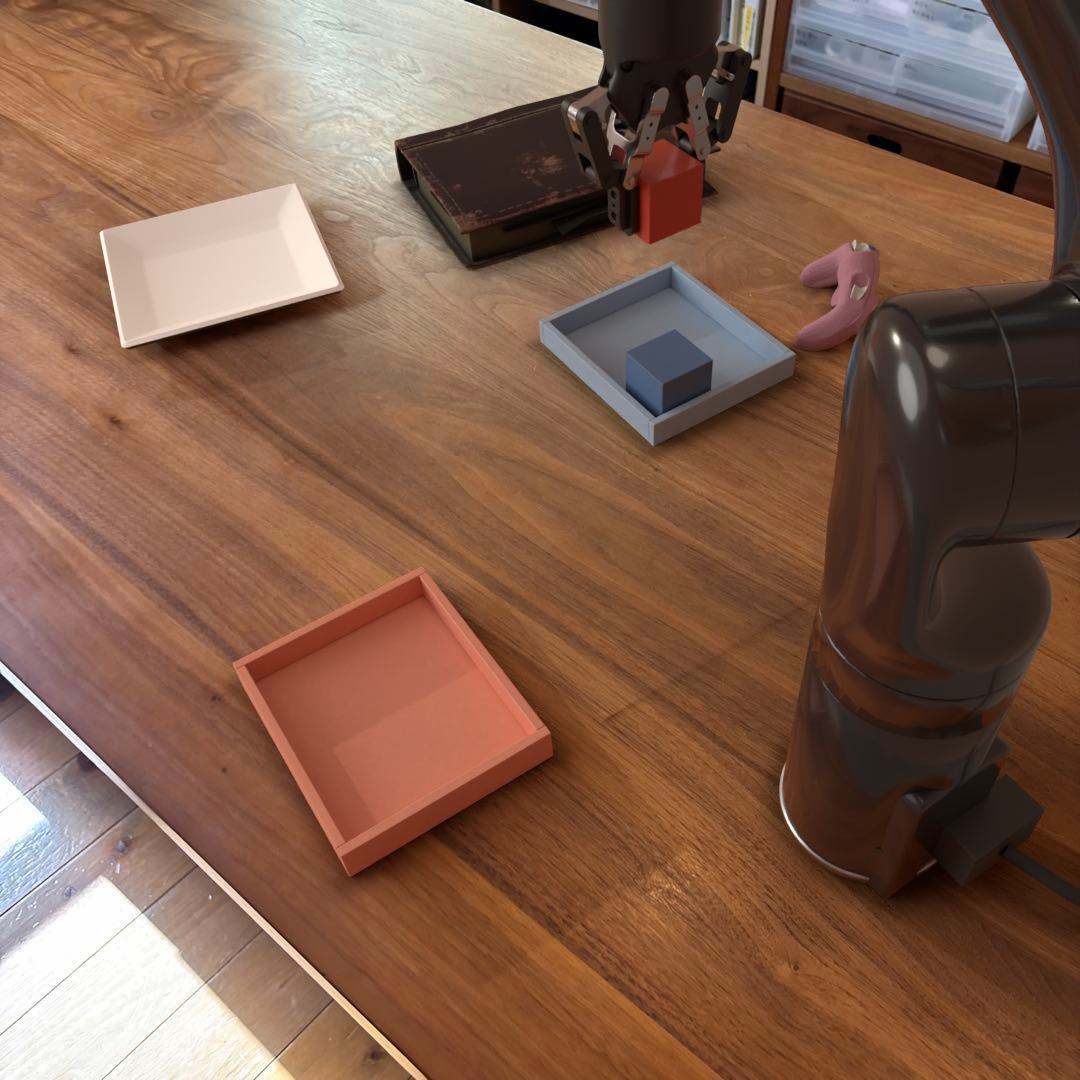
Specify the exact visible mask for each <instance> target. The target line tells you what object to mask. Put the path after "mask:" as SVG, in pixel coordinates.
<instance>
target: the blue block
mask: <svg viewBox="0 0 1080 1080" xmlns="http://www.w3.org/2000/svg"><path fill="white" fill-rule="evenodd" d="M712 368H713V359H711V358H710V357H709V356H708V355H706V354H705V353H704V352H703V351H701V350H700V349H699V348H698V347H697V346H695V345H694V344H693V343H692V342H690V341H689V340H688V339H687V338H685V337H684V336H683V335H682V334H681V333H679V332H678V331H677V330H676V329H674V330H672V331H670V332H667V333H665V334H663V335H661V336H659V337H657V338H655V339H653V340H650V341H648V342H646V343H644V344H642V345H640V346H638V347H636V348H634V349H631V350H629V351H627V352H626V392H628V393H629V394H630V395H631V396H632V397H633V398H634V399H635V400H636V401H638V402H639V403H640V404H641V405H642V406H643V407H644V408H645V409H646V410H648V411H649V412H650V413H651V414H652V415H653V416H654V417H655V418H656V417H658V416H660V415H662V414H664V413H666V412H668V411H670V410H672V409H674V408H676V407H678V406H680V405H682V404H684V403H686V402H688V401H690V400H692V399H694V398H696V397H698V396H700V395H702V394H704V393H706V392H708V391H710V390H711V382H712Z"/></svg>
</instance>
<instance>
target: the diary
mask: <svg viewBox="0 0 1080 1080" xmlns="http://www.w3.org/2000/svg"><path fill="white" fill-rule="evenodd" d="M597 87H598V84H595V85H592V86H589V87H586V88H582V89H579V90H576V91H572V92H569V93H566V94H562V95H561V94H560V95H558V96H553V97H550V98H545V99H541V100H537V101H533V102H529V103H525V104H521V105H517V106H513V107H510V108H506V109H503V110H501V111H497V112H493V113H491V114H488V115H484V116H481V117H478V118H476V119H472V120H469V121H466V122H462V123H459V124H455V125H452V126H448V127H443V128H440V129H435V130H431V131H427V132H423V133H418V134H414V135H410V136H406V137H402V138H398V139H394V142H393V143H394V145H393V146H394V151H395V153H394V154H395V160H396V164H397V170H398V175H399V179H400V182H401V184H402V185H403V186H404V188H405V189H406V190H407V192H408V193H409V195H410V196H411V198H412V199H413V201H414V202H415V203H416V205H417V206H418V207H419V208H420V210H421V212H422V213H423V215H425V217H426V218H427V220H428V221H429V222H430V224H431V225H432V226H433V229H435V231H436V232H437V234H438V235H439V236H440V238H441V239H442V240H443V242H444V243H445V245H446V246H447V247H448V248H449V250H450V251H451V252H452V253H453V255H454V256H455V257H456V259H457V260H458V261H459V262H460V264H461V265H462V267H465V268H467V269H479V268H482V267H487V266H490V265H494V264H497V263H500V262H501V263H502V262H504V261H507V260H510V259H515V258H518V257H521V256H525V255H527V254H532V253H533V252H534V253H535V252H538V251H540V250H543V249H546V248H550V247H552V246H556V245H558V244H562V243H565V242H568V241H570V240H572V239H575V238H579V237H581V236H584V235H586V234H590V233H593V232H597V231H601V230H606V229H609V228H613V227H616V225H614V224H613V223H612V222H611V221H610V219H609V217H608V190H604V189H603V188H601V187H600V186H599V185H597V184H596V183H594V182H593V181H592V180H590V179H589V178H587V177H586V176H585V175H583V174H582V173H581V170H580V167H579V164H578V161H577V158H576V155H575V152H574V149H573V146H572V143H571V140H570V137H569V134H568V131H567V128H566V125H565V122H564V119H563V116H562V113H561V104H562V102H563V101H564V100H565V99H566V98H567V97H574V98H575V99H577V100H581V99H582V98H583V97H585V96H586V95H588V94H589V93H590V92H592V91H593V90H595V89H596V88H597ZM611 111H612V109H611V108H610V106H608V107H607V109H606V112H605V119H606V120H605V122H606V123H607V128H608V124H609V120H610V115H611ZM607 128H606V129H605V130H603V133H604V137H605V140H606V143H607V147H608V145H609V141H608V139H607ZM628 128H629V131H630V132H632V133H633V134H635V135H636V133H637V132H636V131H634V130H633V129H631V128H630V127H628ZM661 139H665V140H666V141H668V142H669V143H671V144H673V145H674V146H676V147H677V148H679V147H678V146H677V145H676V143H675V139H674V136H673V132H672V129H671V125H668V126H666V127H664V128H663V129H662V130H660V131H659V132H657V133H656V136H655V140H654V142H656V141H659V140H661ZM721 151H722V148H721V147H720V146H719V145H718V144H717V143H716V144H715V145H714V146H712V147H711V152H710V154H709V155H712V154H716V153H719V152H721ZM625 154H626V152H625ZM706 161H707V158H706V159H705V164H706ZM718 194H719V191H718V190H716V188H714V186H712V185H711V184H710V183H709V182H708V181H707V180H706V171H705V172H704V191H703V193H702V200H703V199H706V198H709V197H712V196H715V195H718Z"/></svg>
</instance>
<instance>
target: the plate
mask: <svg viewBox="0 0 1080 1080" xmlns="http://www.w3.org/2000/svg"><path fill="white" fill-rule="evenodd" d="M99 237H100V243H101V248H102V253H103V258H104V264H105V269H106V275H107V279H108V284H109V289H110V294H111V300H112V305H113V310H114V315H115V320H116V326H117V331H118V335H119V336H118V337H119V342H120V346H121V348H124V349H127V350H134V349H138V348H141V347H144V346H148V345H151V344H156V343H159V342H164V341H166V340H171V339H174V338H178V337H182V336H186V335H188V334H192V333H196V332H200V331H204V330H208V329H211V328H214V327H218V326H222V325H226V324H230V323H234V322H237V321H241V320H245V319H248V318H252V317H256V316H261V315H264V314H267V313H271V312H275V311H279V310H282V309H286V308H290V307H294V306H297V305H301V304H305V303H308V302H311V301H312V302H313V301H317V300H320V299H324V298H327V297H330V296H331V297H332V296H335V295H340V293H342V291H343V290H344V289H345V285H344V283H343V281H342V279H341V276H340V274H339V272H338V269H337V267H336V265H335V263H334V260H333V258H332V256H331V254H330V251H329V249H328V247H327V244H326V242H325V240H324V238H323V235H322V233H321V231H320V229H319V226H318V224H317V221H316V220H315V217H314V216H313V213H312V211H311V208H310V207H309V203H308V201H307V199H306V197H305V195H304V193H303V191H302V187H301V185H300V183H296V182H292V183H287V184H284V185H280V186H275V187H272V188H268V189H264V190H260V191H256V192H251V193H247V194H243V195H238V196H235V197H231V198H227V199H223V200H219V201H215V202H210V203H207V204H206V203H205V204H202V205H198V206H195V207H191V208H186V209H183V210H178V211H175V212H169V213H166V214H161V215H158V216H154V217H153V216H152V217H150V218H146V219H142V220H137V221H133V222H130V223H125V224H121V225H117V226H113V227H109V228H105V229H103V230H101V231H100V232H99Z"/></svg>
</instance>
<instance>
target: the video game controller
mask: <svg viewBox="0 0 1080 1080" xmlns="http://www.w3.org/2000/svg"><path fill="white" fill-rule="evenodd" d="M880 253H881V252H880V250H879V249H878V248H876V247H875V246H873V245H871V244H867V243H866V242H858V241H857V239H854V240H853V241H849V242H848V241H847V242H846V243H844V244H842V245H840V246H839V247H838V248H836V249H834V250H833V251H832V252H830V253H828V254H826V255H824V256H822V257H819V258H817V259H816V260H814V261H812V262H811V263H809V264H807V265H806V266H805V267H804V268H803V269H802V271H801V272H800V275H799V283H800V284H801V285H803V286H806V287H811V288H816V289H824V288H829V287H833V286H836V285H837V287H836V288H835V291H834V292H833V294H832V297H831V298H830V299H831V300H830V306H831V307H832V309H831V310H829V312H827V313H825V314H824V315H822V316H820V317H819V318H817V319H815V320H813V321H811V322H810V323H807V324H806V325H804V326H803V327H802V328H801V329H800V330H798V332H796V334H795V337H794V345H795V347H796V348H798V349H800V350H801V351H802V350H803V351H809V352H820V351H826V350H829V349H832V348H834V347H837V346H839V345H841V343H843V342H846V341H847V340H849V339H850V338H851V337H853V336H857V333H858V331H859V329H860V326H861V325H862V323H863V322H864V320H865V318H866V317H867V315H868V314H869V313H870V312H871V311H872V309H873V308H874V307H875V306H876V305H878V304H879V296H878V294H877V290H878V285H879V281H880V273H881V271H880V270H881V264H880V263H881V262H880Z"/></svg>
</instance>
